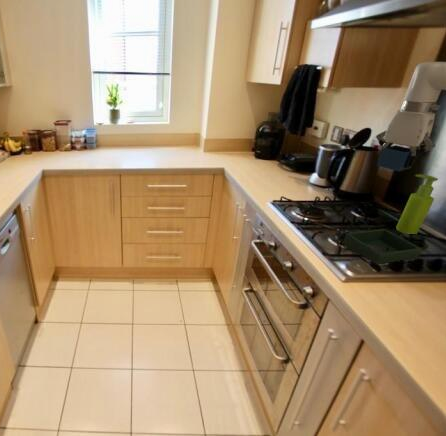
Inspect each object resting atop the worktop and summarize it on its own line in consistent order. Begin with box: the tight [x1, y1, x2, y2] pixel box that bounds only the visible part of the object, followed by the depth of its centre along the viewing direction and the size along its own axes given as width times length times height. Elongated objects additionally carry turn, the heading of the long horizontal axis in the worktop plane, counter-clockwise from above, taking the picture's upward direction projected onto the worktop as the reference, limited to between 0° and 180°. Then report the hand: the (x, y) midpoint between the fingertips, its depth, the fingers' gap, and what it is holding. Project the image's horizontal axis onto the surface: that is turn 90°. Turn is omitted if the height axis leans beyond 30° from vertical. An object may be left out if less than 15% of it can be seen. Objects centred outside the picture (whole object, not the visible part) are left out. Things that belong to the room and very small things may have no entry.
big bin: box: [342, 228, 423, 264], centre depth 99 cm, size 14×12×4 cm
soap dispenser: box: [395, 173, 439, 235], centre depth 107 cm, size 6×7×20 cm
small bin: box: [376, 144, 413, 172], centre depth 103 cm, size 7×7×6 cm
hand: (394, 163), depth 104 cm, fingers closed on small bin, 6 cm apart
